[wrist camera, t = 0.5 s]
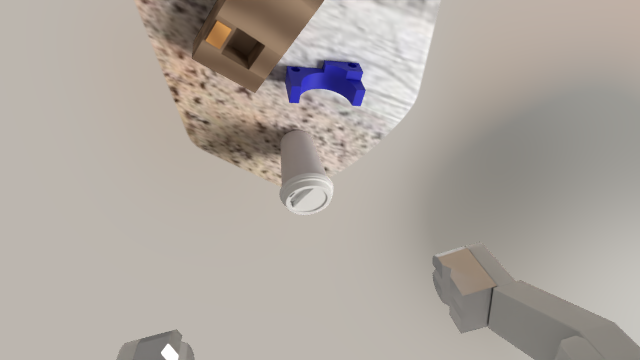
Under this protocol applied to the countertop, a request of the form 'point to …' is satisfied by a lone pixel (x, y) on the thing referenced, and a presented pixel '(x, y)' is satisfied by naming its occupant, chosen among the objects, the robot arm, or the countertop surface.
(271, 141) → the countertop surface
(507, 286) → the robot arm
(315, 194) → the coffee cup
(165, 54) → the countertop surface
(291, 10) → the socket block
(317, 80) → the cable clip
